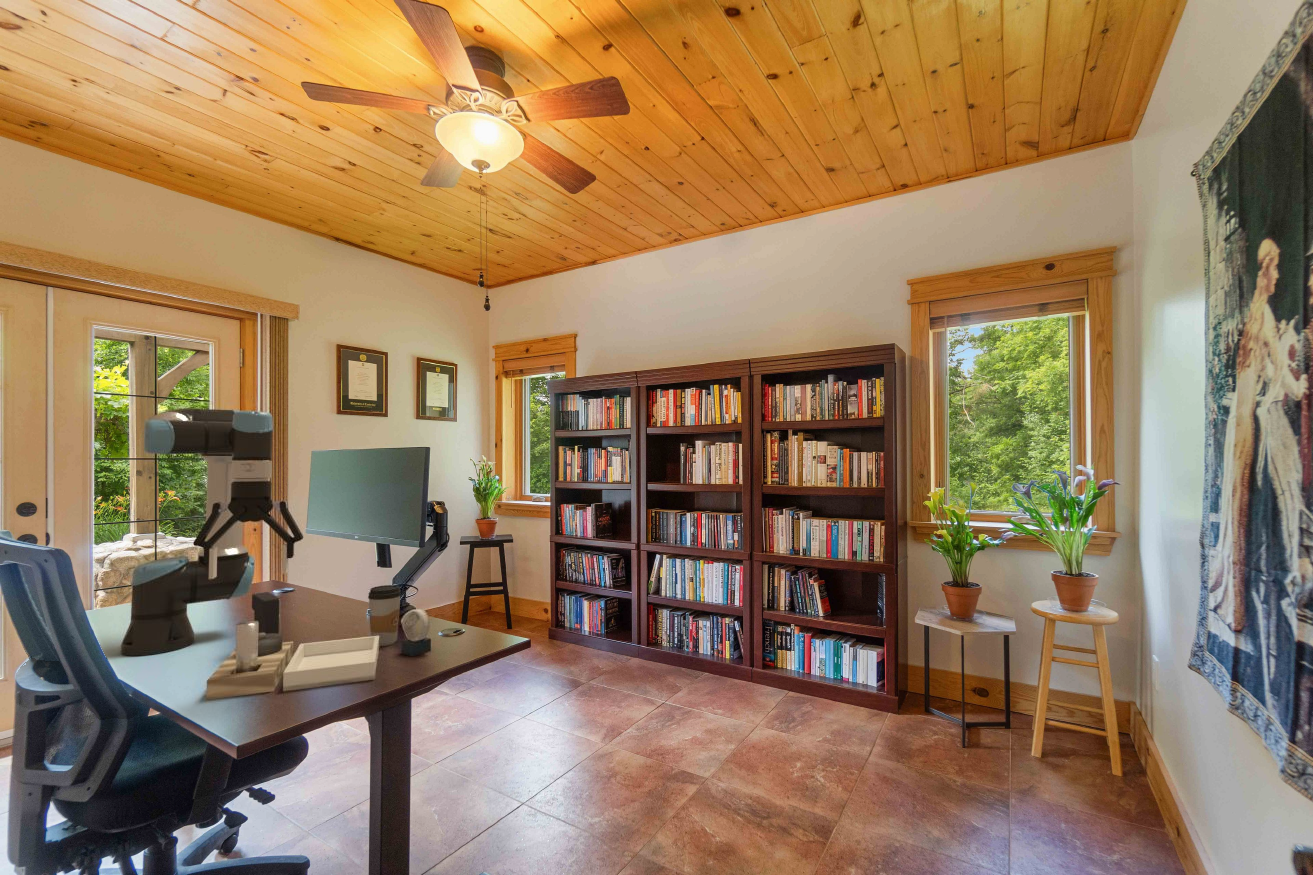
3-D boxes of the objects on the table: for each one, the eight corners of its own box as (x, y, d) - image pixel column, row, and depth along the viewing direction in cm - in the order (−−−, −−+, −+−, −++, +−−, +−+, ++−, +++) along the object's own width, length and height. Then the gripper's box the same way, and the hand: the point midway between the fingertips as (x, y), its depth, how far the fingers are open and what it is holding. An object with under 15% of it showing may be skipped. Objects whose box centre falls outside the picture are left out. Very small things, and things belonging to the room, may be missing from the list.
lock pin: (237, 685, 132) (239, 622, 133) (259, 682, 134) (260, 620, 134) (232, 691, 129) (234, 626, 129) (254, 688, 130) (256, 624, 131)
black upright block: (281, 656, 152) (283, 597, 152) (262, 660, 149) (263, 600, 149) (269, 647, 159) (270, 591, 160) (250, 651, 156) (251, 593, 157)
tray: (300, 659, 149) (300, 643, 149) (379, 650, 156) (379, 635, 156) (283, 691, 129) (283, 672, 129) (374, 679, 136) (374, 661, 136)
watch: (415, 646, 159) (415, 605, 160) (435, 651, 155) (435, 609, 156) (396, 652, 155) (397, 610, 155) (416, 657, 150) (417, 614, 151)
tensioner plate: (236, 663, 146) (237, 630, 147) (293, 657, 151) (293, 624, 151) (206, 699, 124) (207, 660, 125) (273, 691, 129) (274, 652, 129)
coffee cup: (387, 648, 158) (388, 591, 159) (360, 646, 160) (361, 590, 160) (407, 639, 166) (407, 585, 167) (380, 637, 168) (381, 584, 168)
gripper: (177, 481, 125) (174, 583, 124) (312, 479, 135) (311, 573, 134) (189, 480, 132) (186, 576, 131) (317, 478, 141) (315, 568, 141)
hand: (249, 575), depth 132 cm, fingers open, 13 cm apart
